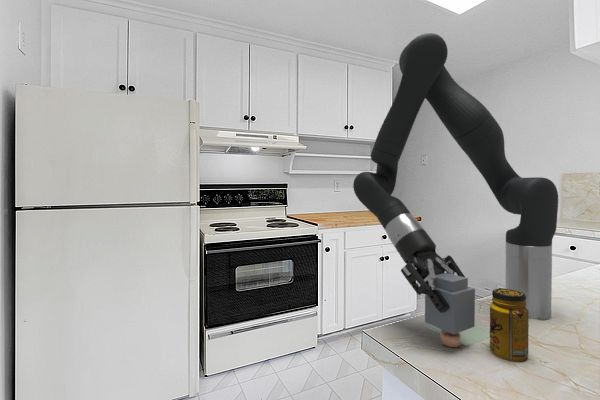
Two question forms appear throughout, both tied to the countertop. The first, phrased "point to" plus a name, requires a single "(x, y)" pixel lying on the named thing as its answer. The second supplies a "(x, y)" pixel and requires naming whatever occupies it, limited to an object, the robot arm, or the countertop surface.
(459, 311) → the grey stepped block
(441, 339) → the bowl
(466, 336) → the mat
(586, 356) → the countertop surface
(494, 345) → the condiment
